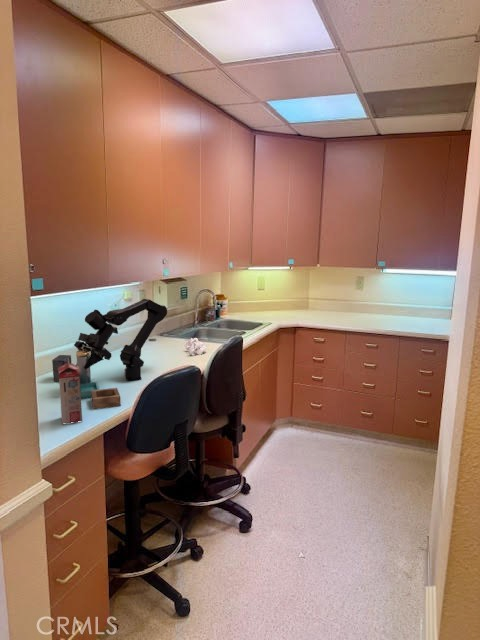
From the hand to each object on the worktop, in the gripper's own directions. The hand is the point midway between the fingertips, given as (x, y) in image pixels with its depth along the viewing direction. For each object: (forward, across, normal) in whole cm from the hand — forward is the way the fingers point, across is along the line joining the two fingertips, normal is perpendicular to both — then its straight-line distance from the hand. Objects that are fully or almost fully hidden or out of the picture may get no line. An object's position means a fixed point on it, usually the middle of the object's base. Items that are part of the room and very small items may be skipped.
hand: (80, 367), depth 176 cm
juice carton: (+20, +18, -4) cm, 28 cm away
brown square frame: (+8, +15, +9) cm, 19 cm away
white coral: (-46, -7, +64) cm, 79 cm away
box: (+4, -23, +12) cm, 27 cm away
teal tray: (+8, 0, +9) cm, 12 cm away
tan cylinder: (+4, 0, +6) cm, 7 cm away
